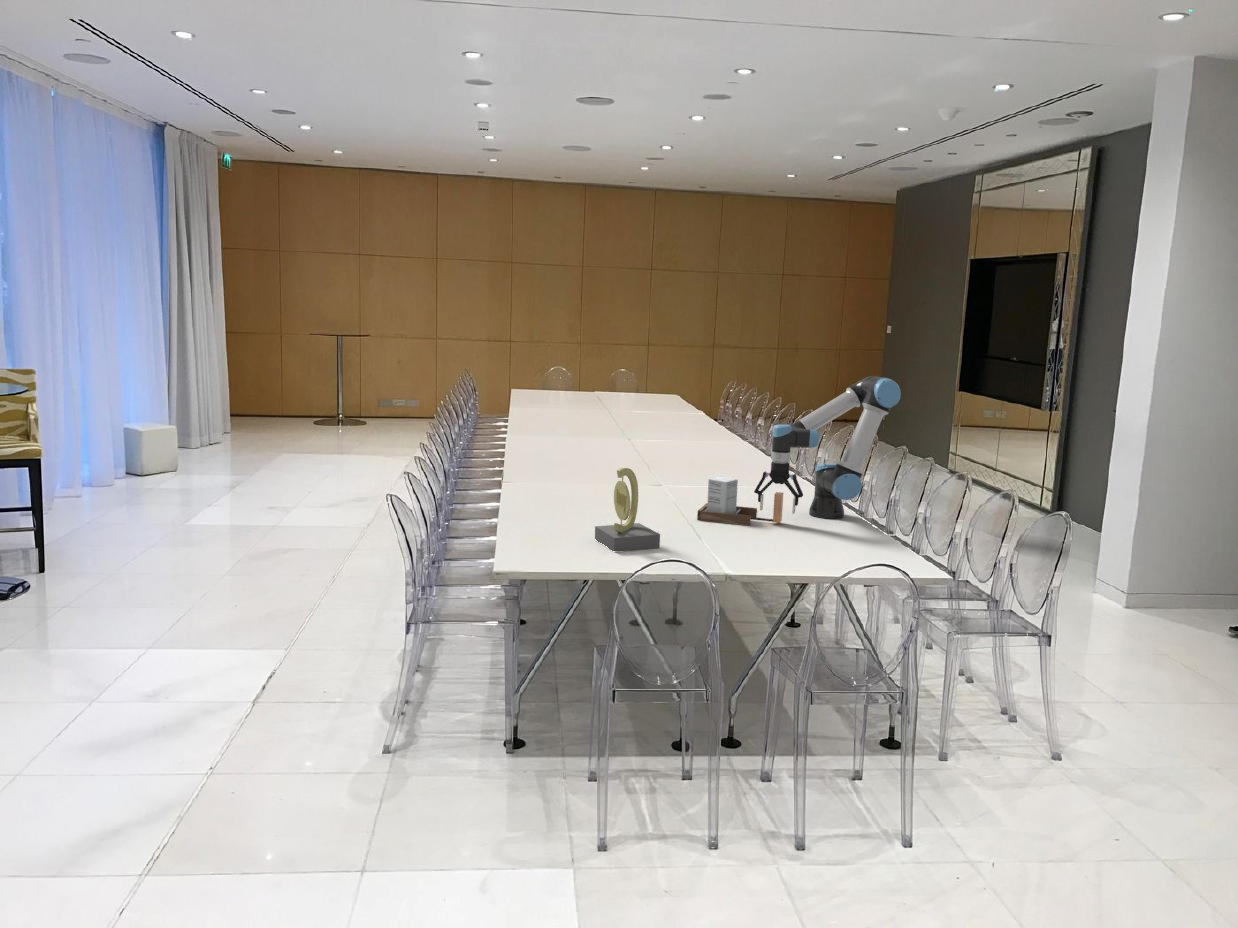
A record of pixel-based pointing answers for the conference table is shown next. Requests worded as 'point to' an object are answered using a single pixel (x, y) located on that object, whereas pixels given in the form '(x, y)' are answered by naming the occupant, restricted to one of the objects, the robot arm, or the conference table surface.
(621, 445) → the conference table surface
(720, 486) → the supplement box
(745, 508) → the tray
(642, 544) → the trophy
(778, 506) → the pusher tool
